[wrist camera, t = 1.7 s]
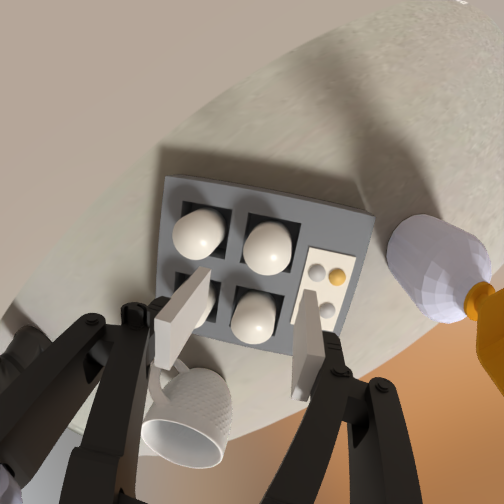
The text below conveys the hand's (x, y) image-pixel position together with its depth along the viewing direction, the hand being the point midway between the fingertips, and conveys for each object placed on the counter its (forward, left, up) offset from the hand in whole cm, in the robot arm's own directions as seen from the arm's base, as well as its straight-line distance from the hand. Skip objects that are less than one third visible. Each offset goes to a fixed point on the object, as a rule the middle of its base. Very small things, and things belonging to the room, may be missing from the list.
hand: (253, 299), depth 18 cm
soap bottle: (+18, +2, -17) cm, 25 cm away
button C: (0, -8, -14) cm, 16 cm away
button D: (0, 0, -14) cm, 14 cm away
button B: (-7, 0, -14) cm, 16 cm away
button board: (-1, -4, -17) cm, 17 cm away
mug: (-6, -24, -17) cm, 30 cm away
